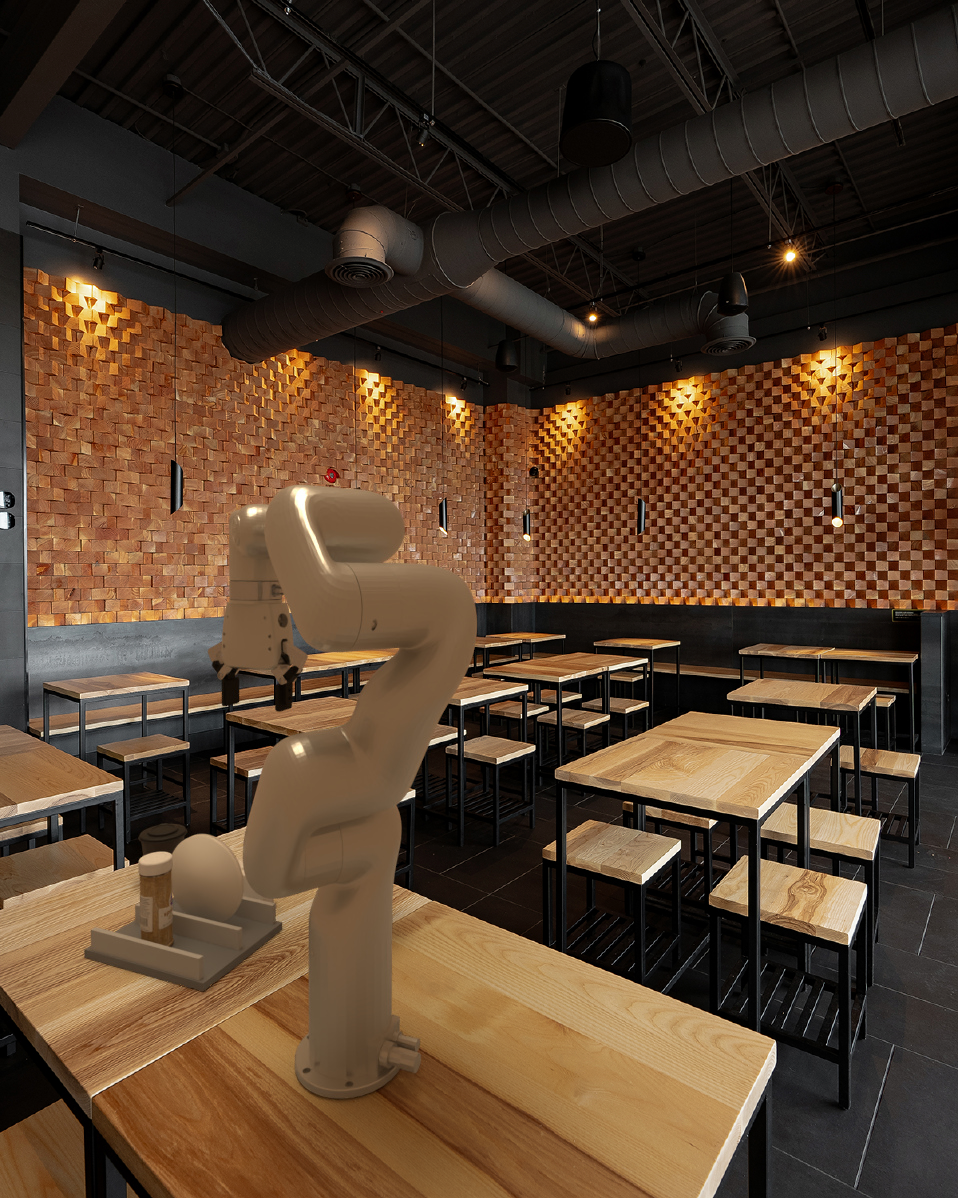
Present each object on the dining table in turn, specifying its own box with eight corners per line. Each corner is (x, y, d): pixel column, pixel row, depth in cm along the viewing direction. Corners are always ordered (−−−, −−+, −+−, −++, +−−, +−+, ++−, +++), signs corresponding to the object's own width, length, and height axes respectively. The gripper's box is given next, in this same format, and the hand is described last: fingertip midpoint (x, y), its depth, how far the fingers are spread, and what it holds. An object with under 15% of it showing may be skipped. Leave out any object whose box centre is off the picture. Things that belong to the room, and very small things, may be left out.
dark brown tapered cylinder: (172, 868, 129) (172, 816, 128) (196, 880, 124) (196, 826, 123) (129, 884, 122) (129, 829, 122) (153, 897, 117) (152, 840, 117)
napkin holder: (285, 914, 113) (285, 880, 113) (212, 925, 109) (212, 890, 109) (282, 875, 127) (281, 845, 127) (217, 883, 124) (216, 853, 123)
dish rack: (282, 929, 107) (281, 835, 107) (203, 992, 91) (202, 881, 91) (174, 904, 115) (173, 815, 114) (84, 957, 99) (82, 855, 98)
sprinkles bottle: (176, 949, 99) (175, 859, 99) (141, 958, 97) (140, 866, 96) (170, 934, 103) (169, 848, 103) (137, 943, 101) (136, 854, 100)
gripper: (320, 593, 101) (320, 707, 102) (227, 591, 107) (227, 698, 108) (289, 595, 94) (289, 717, 95) (191, 592, 100) (192, 707, 101)
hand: (256, 707), depth 102 cm, fingers open, 9 cm apart
